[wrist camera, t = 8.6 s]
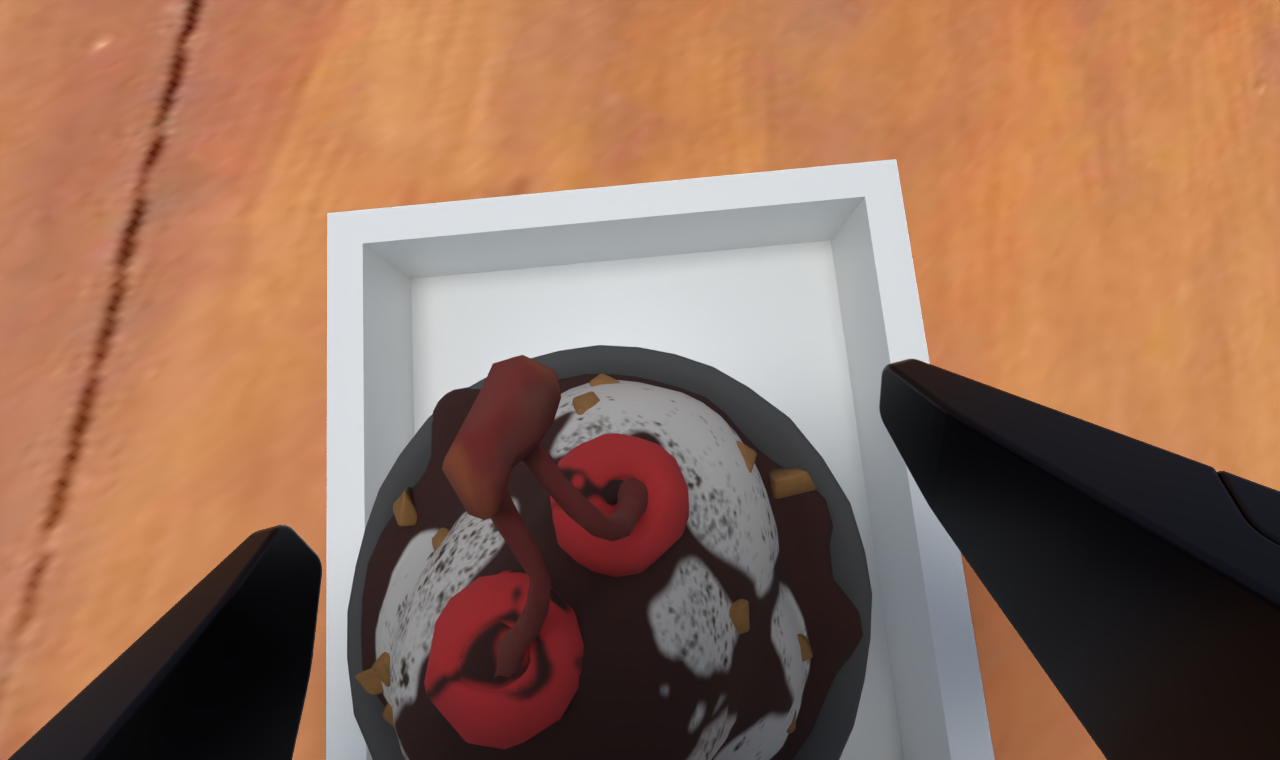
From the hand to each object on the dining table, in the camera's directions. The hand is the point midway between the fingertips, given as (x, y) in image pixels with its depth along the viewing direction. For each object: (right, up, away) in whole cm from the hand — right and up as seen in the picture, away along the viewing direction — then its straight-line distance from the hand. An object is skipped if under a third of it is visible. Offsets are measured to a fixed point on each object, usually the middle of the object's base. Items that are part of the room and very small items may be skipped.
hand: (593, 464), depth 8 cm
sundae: (+1, -3, +9) cm, 9 cm away
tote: (+1, -3, +10) cm, 10 cm away
